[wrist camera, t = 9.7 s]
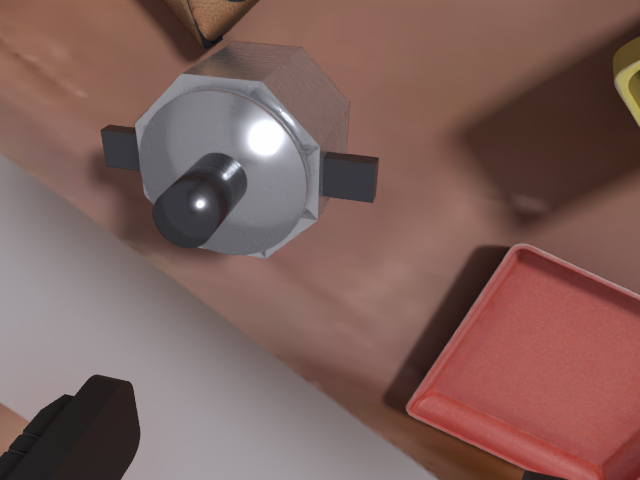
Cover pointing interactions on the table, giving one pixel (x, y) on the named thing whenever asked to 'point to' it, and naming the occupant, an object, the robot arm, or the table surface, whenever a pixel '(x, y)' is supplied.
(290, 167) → the lid
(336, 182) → the pot
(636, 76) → the flower pot
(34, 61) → the table surface
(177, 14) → the sunglasses case
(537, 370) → the plant saucer
